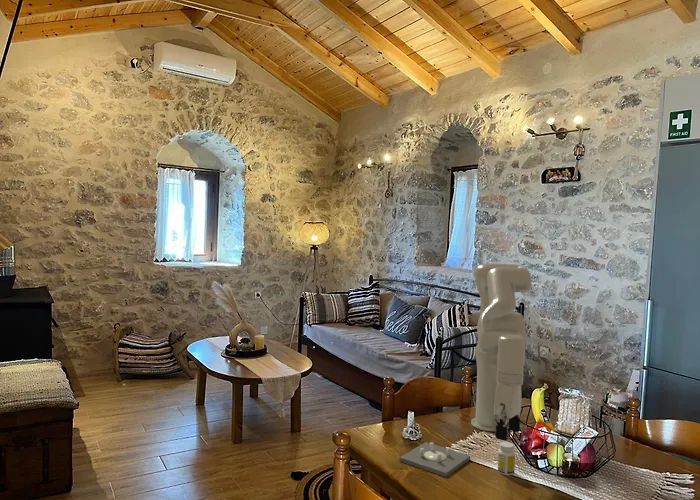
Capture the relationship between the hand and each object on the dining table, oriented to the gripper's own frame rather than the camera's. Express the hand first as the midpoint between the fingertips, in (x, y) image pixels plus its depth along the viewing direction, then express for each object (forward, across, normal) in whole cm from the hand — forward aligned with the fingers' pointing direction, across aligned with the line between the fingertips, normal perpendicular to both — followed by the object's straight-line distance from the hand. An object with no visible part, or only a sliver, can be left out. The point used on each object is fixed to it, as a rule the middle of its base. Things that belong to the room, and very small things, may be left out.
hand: (507, 435), depth 158 cm
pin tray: (+11, +6, -20) cm, 24 cm away
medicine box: (+12, -14, +12) cm, 21 cm away
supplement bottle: (+12, -1, 0) cm, 12 cm away
